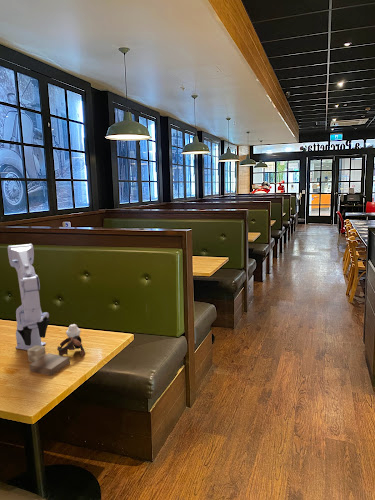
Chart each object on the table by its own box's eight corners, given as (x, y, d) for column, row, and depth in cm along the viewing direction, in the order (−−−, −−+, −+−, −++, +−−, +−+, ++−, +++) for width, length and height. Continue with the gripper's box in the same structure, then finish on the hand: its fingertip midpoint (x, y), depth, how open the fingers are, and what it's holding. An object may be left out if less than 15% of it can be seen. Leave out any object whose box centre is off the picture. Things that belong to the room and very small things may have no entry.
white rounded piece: (65, 337, 167) (64, 323, 166) (79, 335, 170) (78, 320, 168) (67, 343, 162) (66, 327, 160) (82, 340, 164) (80, 325, 163)
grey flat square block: (30, 372, 138) (29, 364, 138) (49, 360, 147) (48, 353, 147) (51, 376, 134) (51, 369, 134) (69, 364, 144) (69, 357, 143)
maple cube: (28, 361, 146) (27, 349, 145) (37, 356, 150) (35, 344, 149) (37, 363, 144) (36, 351, 143) (45, 358, 148) (44, 346, 147)
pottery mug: (82, 361, 146) (70, 346, 143) (63, 369, 148) (51, 355, 145) (91, 341, 157) (80, 327, 154) (73, 349, 159) (62, 335, 156)
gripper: (25, 314, 135) (29, 350, 137) (53, 302, 148) (56, 335, 151) (10, 312, 137) (14, 347, 140) (39, 301, 151) (42, 333, 153)
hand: (35, 341), depth 145 cm, fingers open, 7 cm apart
